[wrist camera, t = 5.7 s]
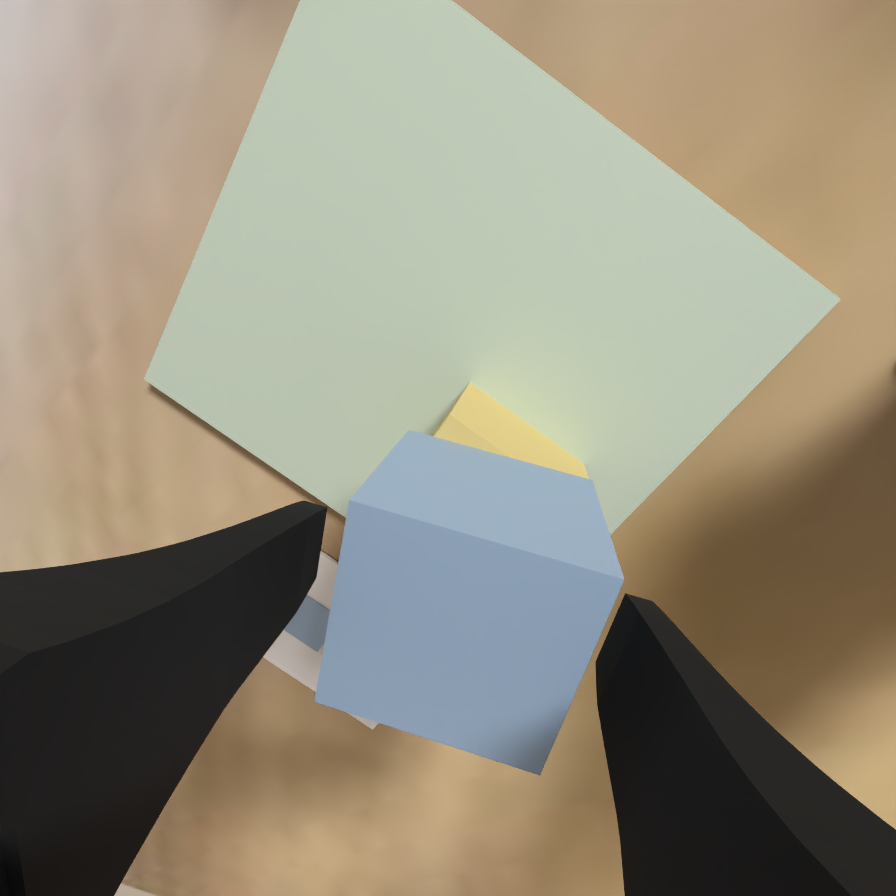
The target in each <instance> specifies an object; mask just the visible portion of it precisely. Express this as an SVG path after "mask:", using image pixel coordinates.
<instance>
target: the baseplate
mask: <svg viewBox="0 0 896 896" xmlns="http://www.w3.org/2000/svg"><path fill="white" fill-rule="evenodd" d="M840 300H841V299H840V298H839V297H837V296H836V295H835V294H833V293H832V292H831V291H830V290H828V289H827V288H826V287H824V286H823V285H822V284H820V283H819V282H818V281H817V280H815V279H814V278H813V277H811V276H810V275H809V274H807V273H806V272H805V271H804V270H802V269H801V268H800V267H798V266H797V265H796V264H794V263H793V262H792V261H791V260H789V259H788V258H787V257H785V256H784V255H783V254H781V253H780V252H779V251H778V250H776V249H775V248H774V247H772V246H771V245H770V244H768V243H767V242H766V241H764V240H763V239H762V238H761V237H759V236H758V235H757V234H755V233H754V232H753V231H751V230H750V229H749V228H748V227H746V226H745V225H744V224H742V223H741V222H740V221H738V220H737V219H736V218H735V217H733V216H732V215H731V214H729V213H728V212H727V211H725V210H724V209H723V208H722V207H720V206H719V205H718V204H716V203H715V202H714V201H712V200H711V199H710V198H709V197H707V196H706V195H705V194H703V193H702V192H701V191H699V190H698V189H697V188H695V187H694V186H693V185H692V184H690V183H689V182H688V181H686V180H685V179H684V178H682V177H681V176H680V175H679V174H677V173H676V172H675V171H673V170H672V169H671V168H669V167H668V166H667V165H666V164H664V163H663V162H662V161H660V160H659V159H658V158H656V157H655V156H654V155H653V154H651V153H650V152H649V151H647V150H646V149H645V148H643V147H642V146H641V145H640V144H638V143H637V142H636V141H634V140H633V139H632V138H630V137H629V136H628V135H626V134H625V133H624V132H623V131H621V130H620V129H619V128H617V127H616V126H615V125H613V124H612V123H611V122H610V121H608V120H607V119H606V118H604V117H603V116H602V115H600V114H599V113H598V112H597V111H595V110H594V109H593V108H591V107H590V106H589V105H587V104H586V103H585V102H584V101H582V100H581V99H580V98H578V97H577V96H576V95H574V94H573V93H572V92H571V91H569V90H568V89H567V88H565V87H564V86H563V85H561V84H560V83H559V82H557V81H556V80H555V79H554V78H552V77H551V76H550V75H548V74H547V73H546V72H544V71H543V70H542V69H541V68H539V67H538V66H537V65H535V64H534V63H533V62H531V61H530V60H529V59H528V58H526V57H525V56H524V55H522V54H521V53H520V52H518V51H517V50H516V49H515V48H513V47H512V46H511V45H509V44H508V43H507V42H505V41H504V40H503V39H502V38H500V37H499V36H498V35H496V34H495V33H494V32H492V31H491V30H490V29H488V28H487V27H486V26H485V25H483V24H482V23H481V22H479V21H478V20H477V19H475V18H474V17H473V16H472V15H470V14H469V13H468V12H466V11H465V10H464V9H462V8H461V7H460V6H459V5H457V4H456V3H455V2H453V1H452V0H300V2H299V4H298V7H297V9H296V11H295V14H294V16H293V19H292V21H291V24H290V26H289V28H288V31H287V33H286V36H285V38H284V41H283V43H282V45H281V48H280V50H279V53H278V55H277V58H276V60H275V62H274V65H273V67H272V70H271V72H270V75H269V77H268V79H267V82H266V84H265V87H264V89H263V92H262V94H261V96H260V99H259V101H258V104H257V106H256V109H255V111H254V113H253V116H252V118H251V121H250V123H249V126H248V128H247V130H246V133H245V135H244V138H243V140H242V143H241V145H240V147H239V150H238V152H237V155H236V157H235V160H234V162H233V164H232V167H231V169H230V172H229V174H228V177H227V179H226V181H225V184H224V186H223V189H222V191H221V194H220V196H219V198H218V201H217V203H216V206H215V208H214V211H213V213H212V215H211V218H210V220H209V223H208V225H207V228H206V230H205V233H204V235H203V237H202V240H201V242H200V245H199V247H198V250H197V252H196V254H195V257H194V259H193V262H192V264H191V267H190V269H189V271H188V274H187V276H186V279H185V281H184V284H183V286H182V288H181V291H180V293H179V296H178V298H177V301H176V303H175V305H174V308H173V310H172V313H171V315H170V318H169V320H168V322H167V325H166V327H165V330H164V332H163V335H162V337H161V339H160V342H159V344H158V347H157V349H156V352H155V354H154V356H153V359H152V361H151V364H150V366H149V369H148V371H147V373H146V376H145V378H144V380H145V381H147V382H148V383H150V384H151V385H153V386H154V387H156V388H157V389H159V390H160V391H161V392H163V393H164V394H166V395H167V396H169V397H170V398H172V399H173V400H175V401H176V402H178V403H179V404H180V405H182V406H183V407H185V408H186V409H188V410H189V411H191V412H192V413H194V414H195V415H196V416H198V417H199V418H201V419H202V420H204V421H205V422H207V423H208V424H210V425H211V426H213V427H214V428H215V429H217V430H218V431H220V432H221V433H223V434H224V435H226V436H227V437H229V438H230V439H231V440H233V441H234V442H236V443H237V444H239V445H240V446H242V447H243V448H245V449H246V450H247V451H249V452H250V453H252V454H253V455H255V456H256V457H258V458H259V459H261V460H262V461H264V462H265V463H266V464H268V465H269V466H271V467H272V468H274V469H275V470H277V471H278V472H280V473H281V474H282V475H284V476H285V477H287V478H288V479H290V480H291V481H293V482H294V483H296V484H297V485H299V486H300V487H301V488H303V489H304V490H306V491H307V492H309V493H310V494H312V495H313V496H315V497H316V498H317V499H319V500H320V501H322V502H323V503H325V504H326V505H328V506H329V507H331V508H332V509H334V510H335V511H336V512H338V513H339V514H341V515H342V516H344V517H345V518H346V516H347V510H348V504H349V500H350V498H351V497H352V496H353V495H354V494H355V493H356V491H357V490H358V489H359V488H360V487H361V485H362V484H363V483H364V482H365V481H366V480H367V478H368V477H369V476H370V475H371V474H372V473H373V471H374V470H375V469H376V468H377V467H378V465H379V464H380V463H381V462H382V461H383V460H384V458H385V457H386V456H387V455H388V454H389V453H390V451H391V450H392V449H393V448H394V447H395V445H396V444H397V443H398V442H399V441H400V440H401V438H402V437H403V436H404V435H405V434H406V432H407V431H408V430H411V431H415V432H419V433H422V434H426V435H430V436H432V435H433V433H434V432H435V430H436V429H437V428H438V426H439V425H440V423H441V422H442V421H443V419H444V418H445V416H446V415H447V414H448V412H449V411H450V409H451V408H452V407H453V405H454V404H455V402H456V401H457V400H458V398H459V397H460V395H461V394H462V392H463V391H464V390H465V388H466V387H467V385H468V384H469V383H472V384H473V385H474V386H476V387H477V388H479V389H480V390H481V391H483V392H484V393H486V394H487V395H488V396H490V397H491V398H493V399H494V400H495V401H497V402H498V403H500V404H501V405H502V406H504V407H505V408H507V409H508V410H509V411H511V412H512V413H514V414H515V415H516V416H518V417H519V418H521V419H522V420H523V421H525V422H526V423H528V424H529V425H530V426H532V427H533V428H534V429H536V430H537V431H539V432H540V433H541V434H543V435H544V436H546V437H547V438H548V439H550V440H551V441H553V442H554V443H555V444H557V445H558V446H560V447H561V448H562V449H564V450H565V451H567V452H568V453H569V454H571V455H572V456H574V457H575V458H576V459H578V460H579V461H581V462H582V463H583V464H584V465H585V468H586V472H587V475H588V478H589V479H590V480H592V481H593V484H594V487H595V490H596V493H597V496H598V499H599V502H600V505H601V508H602V512H603V515H604V518H605V521H606V524H607V527H608V530H609V533H610V535H611V534H612V533H613V532H614V531H615V530H616V529H617V528H618V527H619V526H620V525H621V524H622V523H623V522H624V520H625V519H626V518H627V517H628V516H629V515H630V514H631V513H632V512H633V511H634V510H635V509H636V508H637V507H638V506H639V505H640V504H641V503H642V502H643V501H644V500H645V499H646V498H647V497H648V496H649V495H650V494H651V493H652V492H653V491H654V490H655V489H656V488H657V487H658V486H659V485H660V484H661V483H662V482H663V481H664V480H665V479H666V478H667V477H668V475H669V474H670V473H671V472H672V471H673V470H674V469H675V468H676V467H677V466H678V465H679V464H680V463H681V462H682V461H683V460H684V459H685V458H686V457H687V456H688V455H689V454H690V453H691V452H692V451H693V450H694V449H695V448H696V447H697V446H698V445H699V444H700V443H701V442H702V441H703V440H704V439H705V438H706V437H707V436H708V435H709V434H710V433H711V432H712V430H713V429H714V428H715V427H716V426H717V425H718V424H719V423H720V422H721V421H722V420H723V419H724V418H725V417H726V416H727V415H728V414H729V413H730V412H731V411H732V410H733V409H734V408H735V407H736V406H737V405H738V404H739V403H740V402H741V401H742V400H743V399H744V398H745V397H746V396H747V395H748V394H749V393H750V392H751V391H752V390H753V389H754V388H755V387H756V385H757V384H758V383H759V382H760V381H761V380H762V379H763V378H764V377H765V376H766V375H767V374H768V373H769V372H770V371H771V370H772V369H773V368H774V367H775V366H776V365H777V364H778V363H779V362H780V361H781V360H782V359H783V358H784V357H785V356H786V355H787V354H788V353H789V352H790V351H791V350H792V349H793V348H794V347H795V346H796V345H797V344H798V343H799V342H800V340H801V339H802V338H803V337H804V336H805V335H806V334H807V333H808V332H809V331H810V330H811V329H812V328H813V327H814V326H815V325H816V324H817V323H818V322H819V321H820V320H821V319H822V318H823V317H824V316H825V315H826V314H827V313H828V312H829V311H830V310H831V309H832V308H833V307H834V306H835V305H836V304H837V303H838V302H839V301H840Z"/></svg>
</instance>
